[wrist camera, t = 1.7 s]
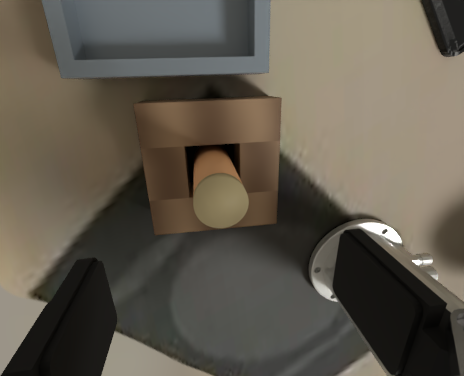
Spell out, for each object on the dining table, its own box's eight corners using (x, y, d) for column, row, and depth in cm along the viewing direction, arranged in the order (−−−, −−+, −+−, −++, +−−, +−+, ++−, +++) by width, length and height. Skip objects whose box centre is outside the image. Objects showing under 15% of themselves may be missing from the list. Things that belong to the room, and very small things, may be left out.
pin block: (268, 96, 25) (281, 98, 22) (266, 206, 30) (276, 223, 26) (142, 100, 24) (133, 103, 20) (159, 215, 29) (154, 235, 25)
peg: (227, 141, 26) (248, 175, 16) (229, 174, 28) (248, 225, 18) (192, 143, 26) (191, 180, 16) (195, 176, 27) (195, 230, 17)
